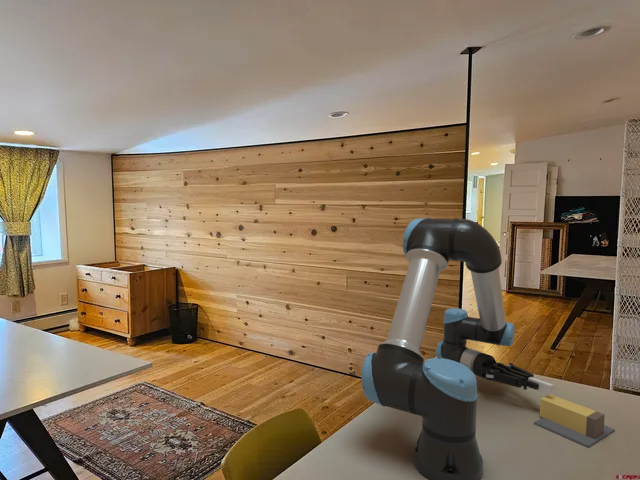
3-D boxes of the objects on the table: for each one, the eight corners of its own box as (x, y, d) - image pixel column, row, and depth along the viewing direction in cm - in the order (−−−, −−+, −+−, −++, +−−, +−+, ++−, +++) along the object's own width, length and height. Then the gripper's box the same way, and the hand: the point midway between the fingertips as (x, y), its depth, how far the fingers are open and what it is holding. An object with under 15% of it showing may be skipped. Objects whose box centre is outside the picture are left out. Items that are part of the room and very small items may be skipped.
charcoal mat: (588, 447, 105) (588, 445, 105) (533, 423, 116) (533, 422, 116) (614, 431, 113) (614, 429, 113) (561, 410, 124) (561, 408, 124)
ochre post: (539, 416, 120) (594, 438, 108) (540, 398, 119) (595, 419, 108) (549, 411, 122) (603, 433, 111) (550, 394, 122) (604, 414, 110)
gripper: (490, 370, 142) (563, 397, 123) (465, 379, 135) (538, 409, 116) (491, 348, 142) (565, 371, 122) (466, 356, 135) (539, 382, 115)
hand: (552, 390), depth 119 cm, fingers closed
